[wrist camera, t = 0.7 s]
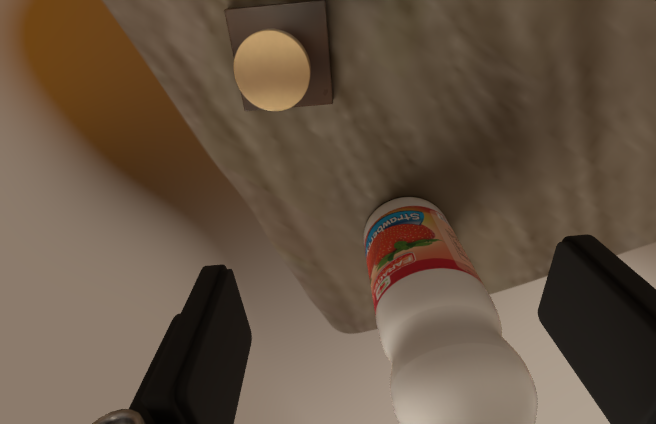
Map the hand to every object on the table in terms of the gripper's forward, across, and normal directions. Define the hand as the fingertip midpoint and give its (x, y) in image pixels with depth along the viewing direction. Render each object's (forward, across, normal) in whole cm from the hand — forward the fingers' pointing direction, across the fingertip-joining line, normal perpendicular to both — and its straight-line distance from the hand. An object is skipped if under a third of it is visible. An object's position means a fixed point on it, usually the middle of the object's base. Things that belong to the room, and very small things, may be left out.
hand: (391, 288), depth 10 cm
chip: (+19, +5, -4) cm, 20 cm away
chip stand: (+25, +5, -4) cm, 26 cm away
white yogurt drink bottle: (+25, -6, +15) cm, 30 cm away
